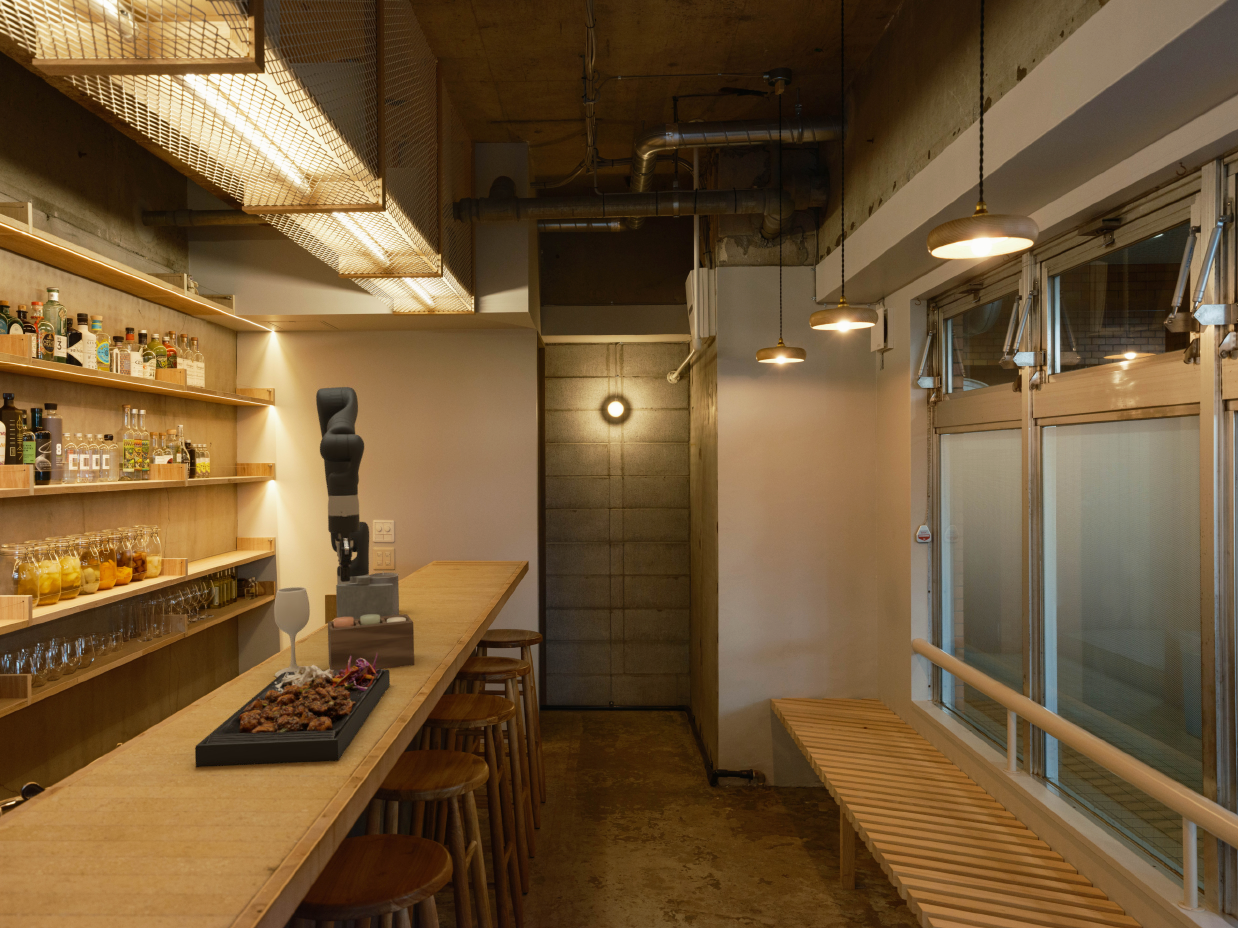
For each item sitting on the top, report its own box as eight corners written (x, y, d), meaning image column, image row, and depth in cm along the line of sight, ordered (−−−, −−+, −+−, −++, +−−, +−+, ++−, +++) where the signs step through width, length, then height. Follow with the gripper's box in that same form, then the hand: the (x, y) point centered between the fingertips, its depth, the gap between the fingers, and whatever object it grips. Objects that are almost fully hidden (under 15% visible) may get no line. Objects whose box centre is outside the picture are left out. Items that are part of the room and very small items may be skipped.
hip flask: (395, 645, 226) (394, 574, 226) (391, 648, 222) (389, 576, 222) (340, 645, 227) (338, 574, 226) (334, 648, 223) (332, 577, 222)
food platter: (281, 692, 186) (280, 648, 186) (389, 688, 188) (388, 644, 188) (195, 770, 141) (194, 712, 141) (338, 764, 143) (337, 707, 143)
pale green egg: (359, 628, 207) (359, 615, 207) (379, 626, 209) (378, 613, 209) (361, 632, 203) (361, 618, 203) (381, 630, 205) (381, 616, 205)
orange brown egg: (333, 631, 205) (332, 617, 205) (352, 629, 207) (352, 615, 207) (334, 635, 200) (334, 621, 200) (354, 633, 202) (354, 619, 202)
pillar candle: (367, 614, 268) (365, 570, 267) (396, 611, 272) (395, 567, 271) (371, 620, 259) (369, 574, 258) (401, 617, 263) (400, 571, 262)
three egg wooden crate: (328, 663, 208) (327, 621, 207) (407, 654, 215) (406, 614, 215) (331, 674, 197) (330, 630, 197) (414, 664, 205) (413, 622, 205)
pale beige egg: (385, 631, 210) (385, 618, 210) (404, 629, 212) (404, 616, 212) (388, 635, 206) (387, 621, 206) (407, 633, 208) (407, 619, 207)
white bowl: (266, 675, 197) (264, 591, 197) (295, 666, 205) (293, 585, 204) (291, 680, 193) (289, 593, 193) (319, 670, 201) (317, 587, 200)
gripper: (326, 511, 208) (327, 578, 208) (330, 515, 195) (331, 586, 196) (356, 510, 211) (357, 576, 211) (362, 514, 198) (363, 583, 199)
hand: (345, 581), depth 203 cm, fingers closed
